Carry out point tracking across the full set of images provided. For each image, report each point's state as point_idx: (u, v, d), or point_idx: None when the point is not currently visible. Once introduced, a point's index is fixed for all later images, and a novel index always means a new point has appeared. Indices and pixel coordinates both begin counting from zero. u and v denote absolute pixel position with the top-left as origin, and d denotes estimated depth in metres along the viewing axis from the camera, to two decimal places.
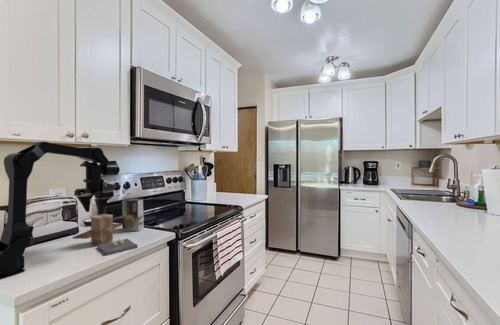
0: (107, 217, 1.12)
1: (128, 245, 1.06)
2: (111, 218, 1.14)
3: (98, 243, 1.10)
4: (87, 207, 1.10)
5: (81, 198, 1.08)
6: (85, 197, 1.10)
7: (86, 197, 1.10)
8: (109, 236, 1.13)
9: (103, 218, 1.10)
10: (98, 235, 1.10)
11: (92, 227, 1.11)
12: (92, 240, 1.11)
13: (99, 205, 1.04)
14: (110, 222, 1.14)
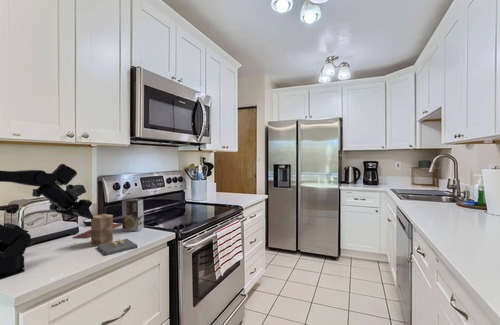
0: (107, 217, 1.12)
1: (128, 245, 1.06)
2: (111, 218, 1.14)
3: (98, 243, 1.10)
4: (75, 213, 1.07)
5: (62, 212, 1.03)
6: None
7: None
8: (109, 236, 1.13)
9: (103, 218, 1.10)
10: (98, 235, 1.10)
11: (92, 227, 1.11)
12: (92, 240, 1.11)
13: (85, 216, 1.00)
14: (110, 222, 1.14)
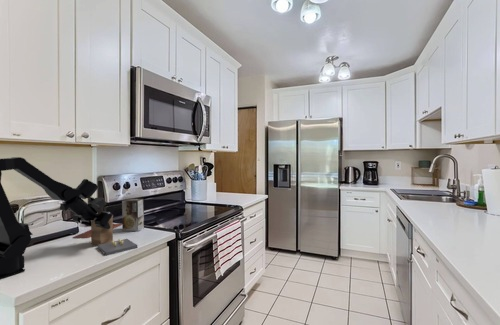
0: None
1: (128, 245, 1.06)
2: (111, 218, 1.14)
3: (98, 243, 1.10)
4: None
5: (86, 223, 1.10)
6: None
7: None
8: (109, 236, 1.13)
9: None
10: (98, 235, 1.10)
11: (92, 227, 1.11)
12: (92, 240, 1.11)
13: (104, 226, 1.09)
14: (110, 222, 1.14)
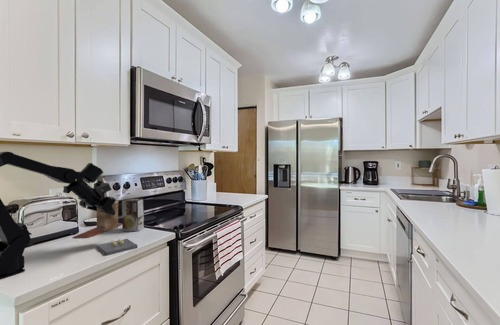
0: None
1: (128, 245, 1.06)
2: (116, 204, 1.12)
3: (102, 229, 1.08)
4: None
5: (92, 208, 1.09)
6: None
7: None
8: (114, 223, 1.11)
9: None
10: (103, 221, 1.08)
11: (97, 212, 1.10)
12: (97, 226, 1.10)
13: (108, 211, 1.07)
14: (115, 208, 1.12)
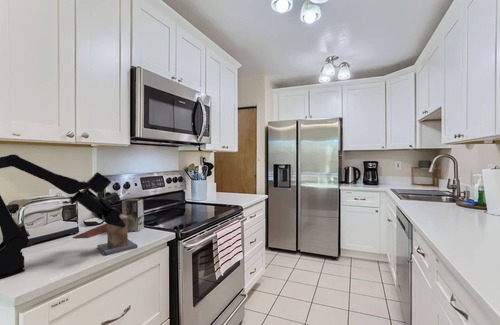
0: None
1: (128, 245, 1.06)
2: (126, 220, 1.06)
3: (111, 245, 1.04)
4: None
5: (101, 218, 1.07)
6: None
7: None
8: (123, 239, 1.06)
9: None
10: (111, 237, 1.03)
11: (108, 228, 1.06)
12: (108, 241, 1.06)
13: (116, 224, 1.01)
14: None
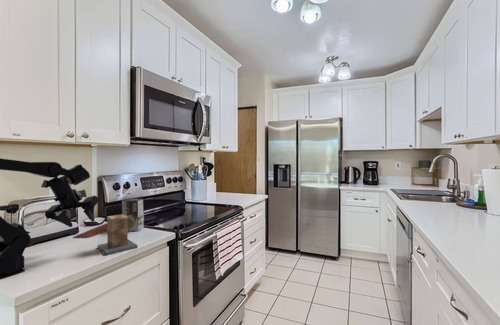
0: (120, 218, 1.05)
1: (128, 245, 1.06)
2: (126, 220, 1.06)
3: (111, 245, 1.04)
4: (69, 222, 1.02)
5: (59, 217, 0.98)
6: (62, 215, 1.00)
7: (62, 214, 1.00)
8: (123, 239, 1.06)
9: (116, 219, 1.04)
10: (111, 237, 1.03)
11: (108, 228, 1.06)
12: (108, 241, 1.06)
13: (90, 214, 1.00)
14: (124, 224, 1.06)
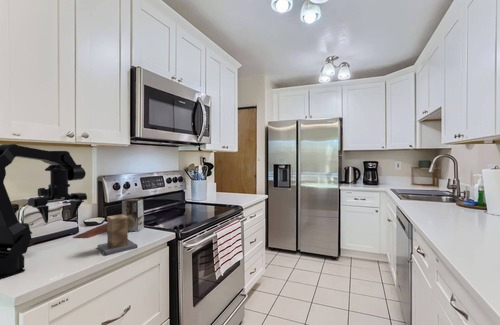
0: (120, 218, 1.05)
1: (128, 245, 1.06)
2: (126, 220, 1.06)
3: (111, 245, 1.04)
4: None
5: None
6: None
7: None
8: (123, 239, 1.06)
9: (116, 219, 1.04)
10: (111, 237, 1.03)
11: (108, 228, 1.06)
12: (108, 241, 1.06)
13: None
14: (124, 224, 1.06)
